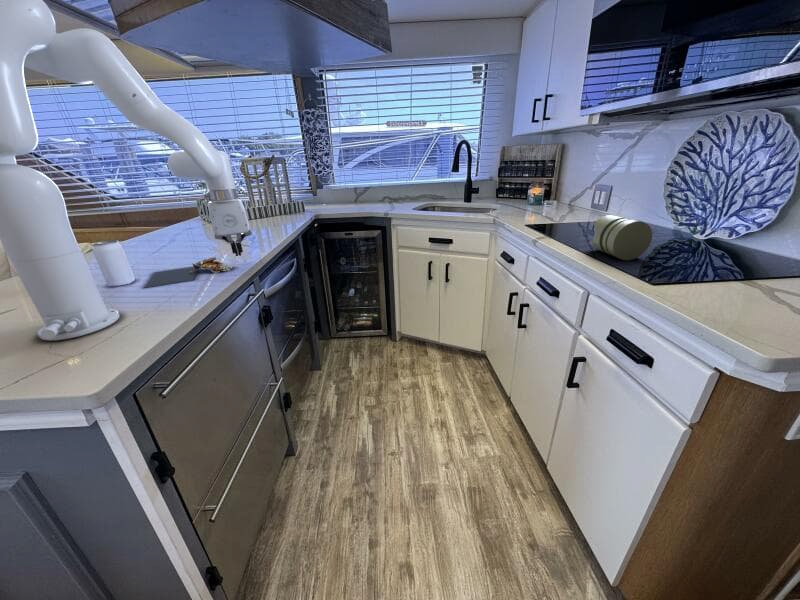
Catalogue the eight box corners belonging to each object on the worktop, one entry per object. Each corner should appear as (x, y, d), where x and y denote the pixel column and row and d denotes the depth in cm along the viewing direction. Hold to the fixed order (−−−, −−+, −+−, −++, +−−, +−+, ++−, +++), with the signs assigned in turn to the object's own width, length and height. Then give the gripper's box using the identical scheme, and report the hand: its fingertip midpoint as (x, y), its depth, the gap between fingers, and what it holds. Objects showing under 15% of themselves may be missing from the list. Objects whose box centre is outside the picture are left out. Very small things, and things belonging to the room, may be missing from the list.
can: (119, 287, 90) (102, 245, 85) (101, 286, 91) (83, 245, 86) (141, 279, 96) (125, 240, 91) (123, 279, 97) (107, 239, 92)
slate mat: (194, 280, 93) (194, 279, 93) (144, 288, 89) (144, 287, 89) (198, 266, 107) (197, 266, 107) (154, 272, 102) (154, 272, 102)
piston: (618, 249, 106) (626, 214, 101) (646, 259, 95) (657, 220, 90) (585, 250, 105) (592, 215, 101) (609, 261, 94) (618, 222, 90)
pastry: (228, 272, 99) (225, 261, 97) (188, 274, 99) (185, 263, 97) (237, 265, 105) (235, 255, 104) (201, 267, 105) (197, 256, 104)
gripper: (194, 199, 91) (212, 261, 98) (251, 194, 96) (264, 254, 104) (196, 197, 97) (213, 256, 104) (249, 193, 103) (262, 249, 110)
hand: (238, 254), depth 104 cm, fingers closed
